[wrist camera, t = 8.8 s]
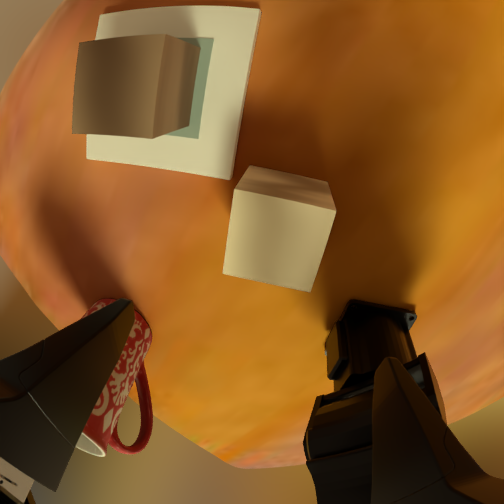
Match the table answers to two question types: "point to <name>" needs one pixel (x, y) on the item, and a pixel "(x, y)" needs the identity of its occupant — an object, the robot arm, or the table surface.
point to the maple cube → (278, 228)
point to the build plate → (205, 91)
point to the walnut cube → (134, 86)
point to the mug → (121, 394)
